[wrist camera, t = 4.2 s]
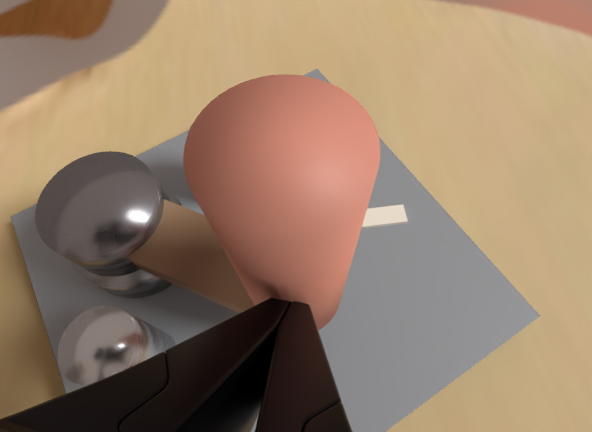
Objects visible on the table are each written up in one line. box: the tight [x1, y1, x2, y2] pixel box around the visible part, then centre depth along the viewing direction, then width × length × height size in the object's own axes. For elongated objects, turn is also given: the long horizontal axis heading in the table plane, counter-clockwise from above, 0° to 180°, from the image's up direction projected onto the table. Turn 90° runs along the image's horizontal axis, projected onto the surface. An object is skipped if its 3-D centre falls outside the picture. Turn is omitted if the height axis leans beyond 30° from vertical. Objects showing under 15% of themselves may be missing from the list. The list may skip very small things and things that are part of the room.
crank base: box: [11, 69, 540, 432], centre depth 16 cm, size 18×17×6 cm
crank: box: [35, 75, 380, 330], centre depth 11 cm, size 12×4×10 cm, turn 66°
